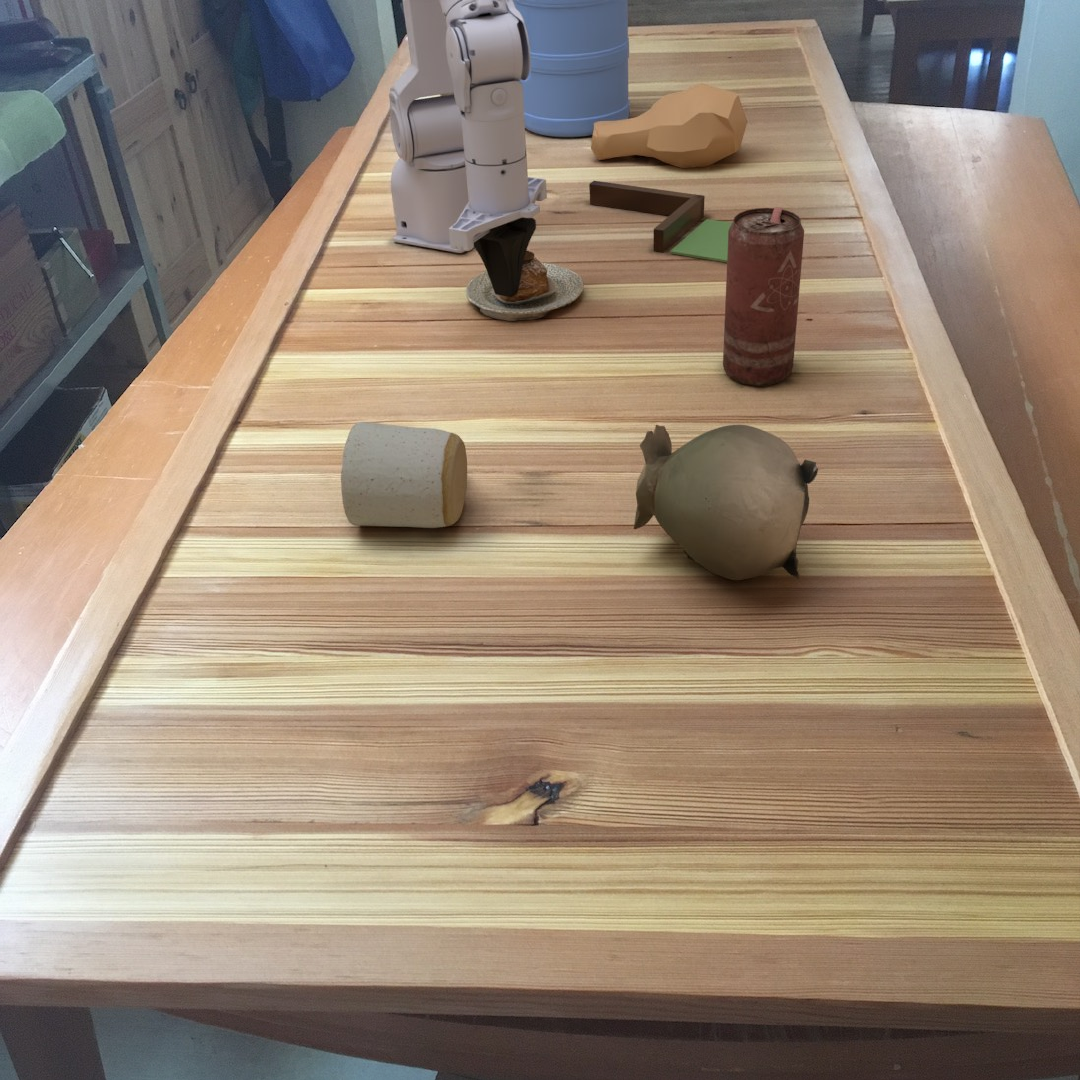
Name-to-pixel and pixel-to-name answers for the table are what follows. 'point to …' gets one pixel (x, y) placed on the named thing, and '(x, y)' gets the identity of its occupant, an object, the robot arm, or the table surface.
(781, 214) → the can
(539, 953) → the table surface
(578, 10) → the water jug
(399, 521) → the ceramic mug
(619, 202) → the corner guide
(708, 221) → the green rag
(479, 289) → the pastry
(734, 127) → the squash
